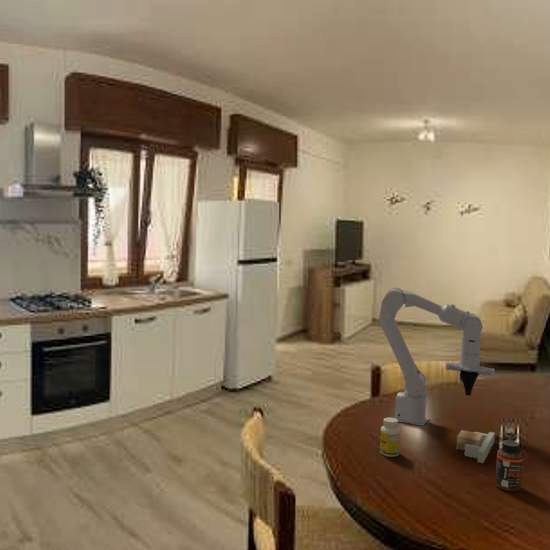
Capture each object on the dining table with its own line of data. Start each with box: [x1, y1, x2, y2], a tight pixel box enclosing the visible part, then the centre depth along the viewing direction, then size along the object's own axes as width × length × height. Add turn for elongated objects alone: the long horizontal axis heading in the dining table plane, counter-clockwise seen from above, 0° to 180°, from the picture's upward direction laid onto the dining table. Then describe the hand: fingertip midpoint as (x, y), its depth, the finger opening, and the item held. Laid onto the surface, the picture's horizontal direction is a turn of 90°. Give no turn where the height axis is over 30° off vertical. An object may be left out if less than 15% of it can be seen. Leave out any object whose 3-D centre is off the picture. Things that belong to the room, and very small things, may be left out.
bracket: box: [464, 431, 496, 464], centre depth 171 cm, size 6×18×3 cm, turn 151°
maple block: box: [456, 429, 483, 451], centre depth 173 cm, size 6×6×4 cm
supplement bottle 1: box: [379, 417, 401, 458], centre depth 167 cm, size 5×5×10 cm
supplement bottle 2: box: [494, 439, 524, 492], centre depth 147 cm, size 6×6×11 cm
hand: (468, 394), depth 190 cm, fingers closed
